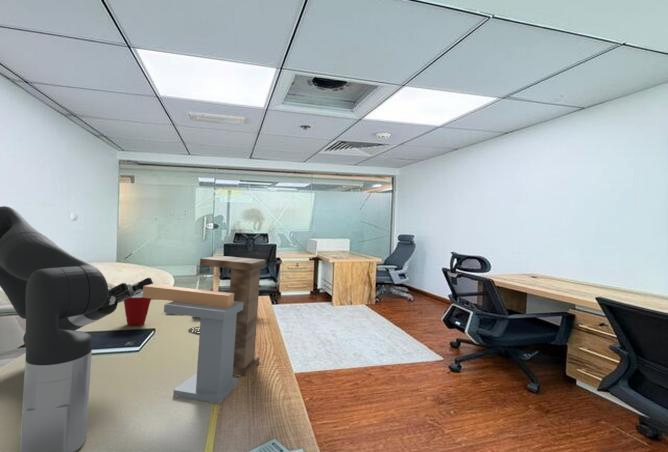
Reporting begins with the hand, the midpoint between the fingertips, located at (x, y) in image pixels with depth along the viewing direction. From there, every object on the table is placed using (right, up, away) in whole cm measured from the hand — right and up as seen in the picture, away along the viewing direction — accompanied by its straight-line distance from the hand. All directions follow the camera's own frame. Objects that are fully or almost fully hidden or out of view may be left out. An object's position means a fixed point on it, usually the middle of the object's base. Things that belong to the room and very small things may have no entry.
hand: (139, 283), depth 84 cm
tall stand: (+20, -27, +11) cm, 35 cm away
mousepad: (+3, -26, +38) cm, 46 cm away
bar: (+14, -4, -3) cm, 15 cm away
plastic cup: (-26, -24, +40) cm, 54 cm away
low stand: (+18, -27, -3) cm, 32 cm away
